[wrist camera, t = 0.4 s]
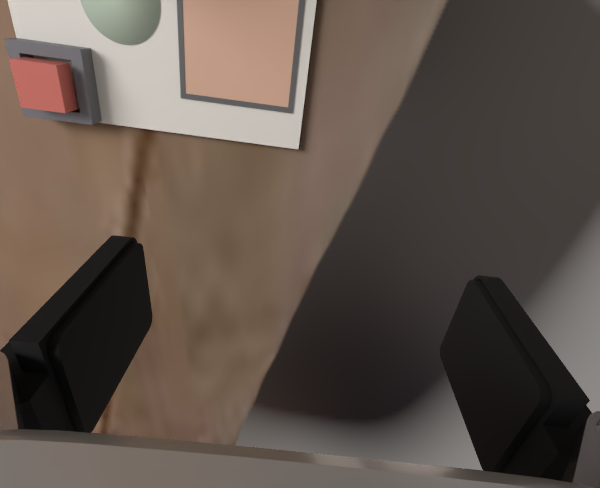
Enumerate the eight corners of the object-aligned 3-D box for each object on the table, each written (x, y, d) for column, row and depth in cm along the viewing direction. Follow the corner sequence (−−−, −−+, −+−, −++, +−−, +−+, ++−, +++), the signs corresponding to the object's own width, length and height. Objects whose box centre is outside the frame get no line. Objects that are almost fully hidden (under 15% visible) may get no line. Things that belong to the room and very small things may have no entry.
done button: (24, 56, 33) (8, 58, 31) (69, 63, 33) (56, 65, 31) (35, 103, 35) (21, 107, 33) (77, 109, 35) (65, 113, 34)
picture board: (-8, -92, 30) (-34, -102, 28) (322, -43, 31) (322, -48, 28) (39, 112, 38) (22, 117, 36) (298, 147, 39) (297, 154, 36)
